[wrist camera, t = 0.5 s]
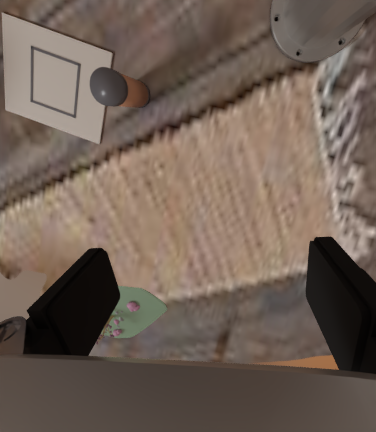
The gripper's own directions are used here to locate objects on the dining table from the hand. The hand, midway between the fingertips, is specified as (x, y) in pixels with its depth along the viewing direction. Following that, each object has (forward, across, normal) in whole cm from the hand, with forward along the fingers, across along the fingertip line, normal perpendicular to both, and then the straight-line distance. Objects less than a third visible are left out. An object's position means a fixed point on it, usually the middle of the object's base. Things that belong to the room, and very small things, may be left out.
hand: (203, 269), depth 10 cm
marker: (+34, +12, -12) cm, 38 cm away
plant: (+35, +29, +38) cm, 59 cm away
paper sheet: (+34, +27, -16) cm, 46 cm away
